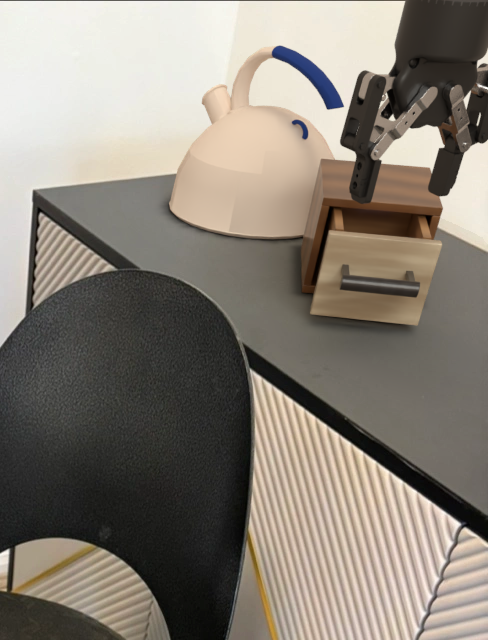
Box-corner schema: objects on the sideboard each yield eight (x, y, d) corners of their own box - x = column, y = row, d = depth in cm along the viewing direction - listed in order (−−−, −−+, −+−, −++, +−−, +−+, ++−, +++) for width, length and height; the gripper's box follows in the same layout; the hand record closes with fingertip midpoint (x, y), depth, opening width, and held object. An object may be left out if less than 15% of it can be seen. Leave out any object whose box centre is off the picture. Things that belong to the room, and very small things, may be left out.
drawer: (421, 345, 106) (447, 262, 101) (310, 333, 108) (330, 250, 103) (407, 278, 120) (429, 201, 115) (308, 268, 121) (326, 192, 116)
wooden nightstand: (414, 304, 116) (443, 207, 110) (301, 292, 118) (323, 197, 112) (404, 257, 127) (430, 167, 121) (300, 247, 129) (320, 158, 123)
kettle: (248, 179, 149) (277, 23, 137) (369, 223, 136) (413, 54, 124) (133, 202, 140) (153, 37, 129) (250, 251, 128) (285, 73, 116)
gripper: (412, 0, 87) (358, 217, 98) (557, -6, 91) (489, 203, 102) (356, -15, 92) (310, 192, 103) (495, -21, 96) (436, 180, 107)
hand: (399, 197), depth 102 cm, fingers open, 8 cm apart
